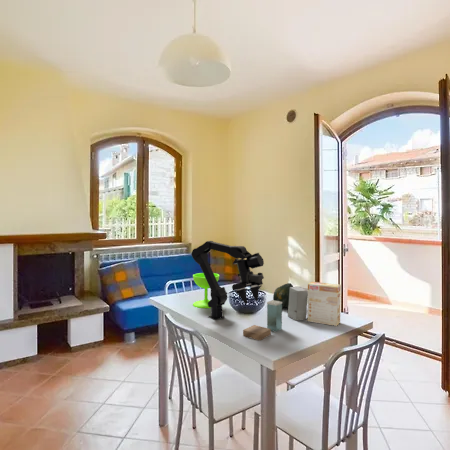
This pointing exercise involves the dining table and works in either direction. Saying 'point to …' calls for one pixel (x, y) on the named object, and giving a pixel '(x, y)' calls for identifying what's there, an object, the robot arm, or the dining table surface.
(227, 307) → the dining table surface
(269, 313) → the tea tin
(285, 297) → the squash
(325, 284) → the coffeecake box
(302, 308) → the skincare box
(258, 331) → the walnut block
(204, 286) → the wineglass
